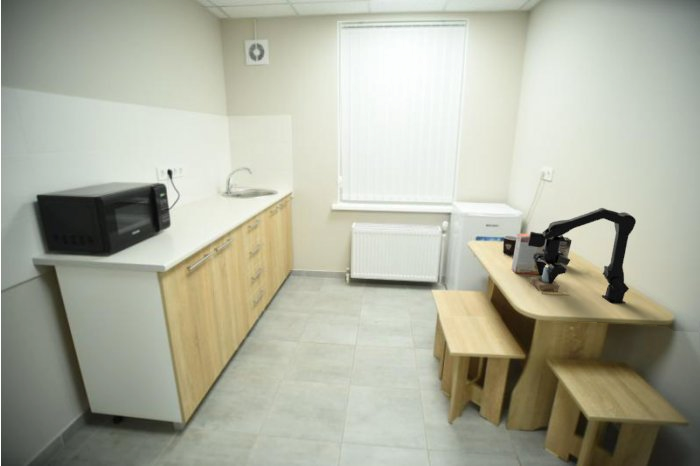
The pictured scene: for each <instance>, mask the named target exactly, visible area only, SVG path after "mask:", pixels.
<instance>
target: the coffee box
mask: <svg viewBox="0 0 700 466" xmlns="http://www.w3.org/2000/svg"><path fill="white" fill-rule="evenodd" d="M563 237H564V238H565V239H566V242H562V241H561V243H560V248H559V252H562V253H563V256H565V257H567V258H569V254H570V249H571V246H572V245H571V244H572V241H573V240H572V239H570V238H569V237H565V236H563ZM555 264H557V263H555ZM559 264H561V265H562V266H564V267H565V268H566V267H567V266H566V265H565V264H563V263H559ZM546 266H549V265H548V264H547V265H546Z"/></svg>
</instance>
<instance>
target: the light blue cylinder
mask: <svg viewBox="0 0 700 466" xmlns="http://www.w3.org/2000/svg"><path fill="white" fill-rule="evenodd" d="M547 270H548V267H546V266H545V267H544V271H543V274H542V276H541V277H542V280H541V282H542V283H548V282H549V280H548V272H547Z"/></svg>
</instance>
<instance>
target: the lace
mask: <svg viewBox="0 0 700 466" xmlns="http://www.w3.org/2000/svg"><path fill="white" fill-rule="evenodd" d="M538 292H539V293H540V294H541V295H561V296H562V295H564V296H569V295H570V293H569V292H559V291H558V292H542V291H541V290H539V291H538Z"/></svg>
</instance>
